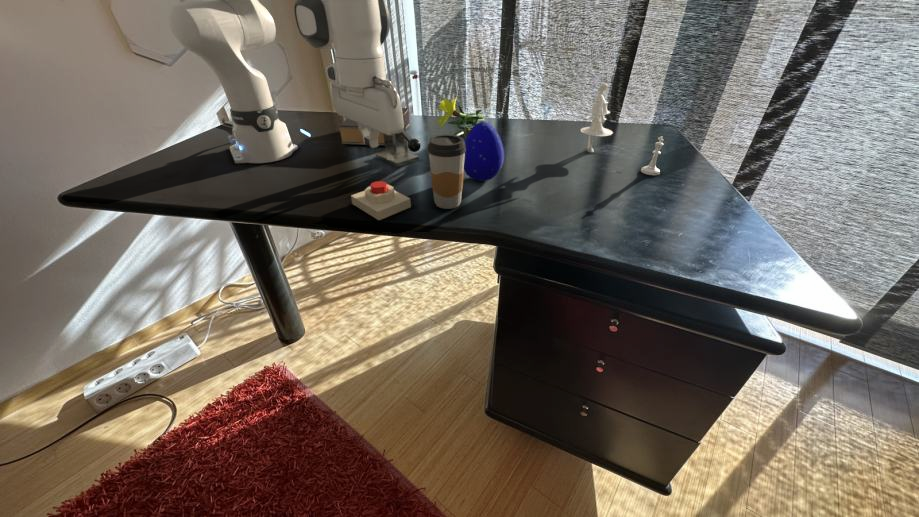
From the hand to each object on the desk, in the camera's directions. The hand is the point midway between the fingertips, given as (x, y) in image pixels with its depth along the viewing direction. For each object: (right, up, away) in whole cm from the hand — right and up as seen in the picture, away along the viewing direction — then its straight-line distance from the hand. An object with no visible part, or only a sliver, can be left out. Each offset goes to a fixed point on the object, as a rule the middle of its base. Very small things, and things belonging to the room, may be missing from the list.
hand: (371, 145), depth 76 cm
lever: (+3, +10, +27) cm, 29 cm away
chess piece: (+73, 0, +25) cm, 77 cm away
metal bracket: (0, +6, +33) cm, 33 cm away
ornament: (+25, -3, +21) cm, 32 cm away
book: (-10, +20, +51) cm, 56 cm away
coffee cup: (+16, -11, +9) cm, 21 cm away
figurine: (+61, +10, +39) cm, 73 cm away
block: (0, -11, +8) cm, 14 cm away
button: (0, -9, +6) cm, 11 cm away
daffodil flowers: (+21, +15, +45) cm, 52 cm away
